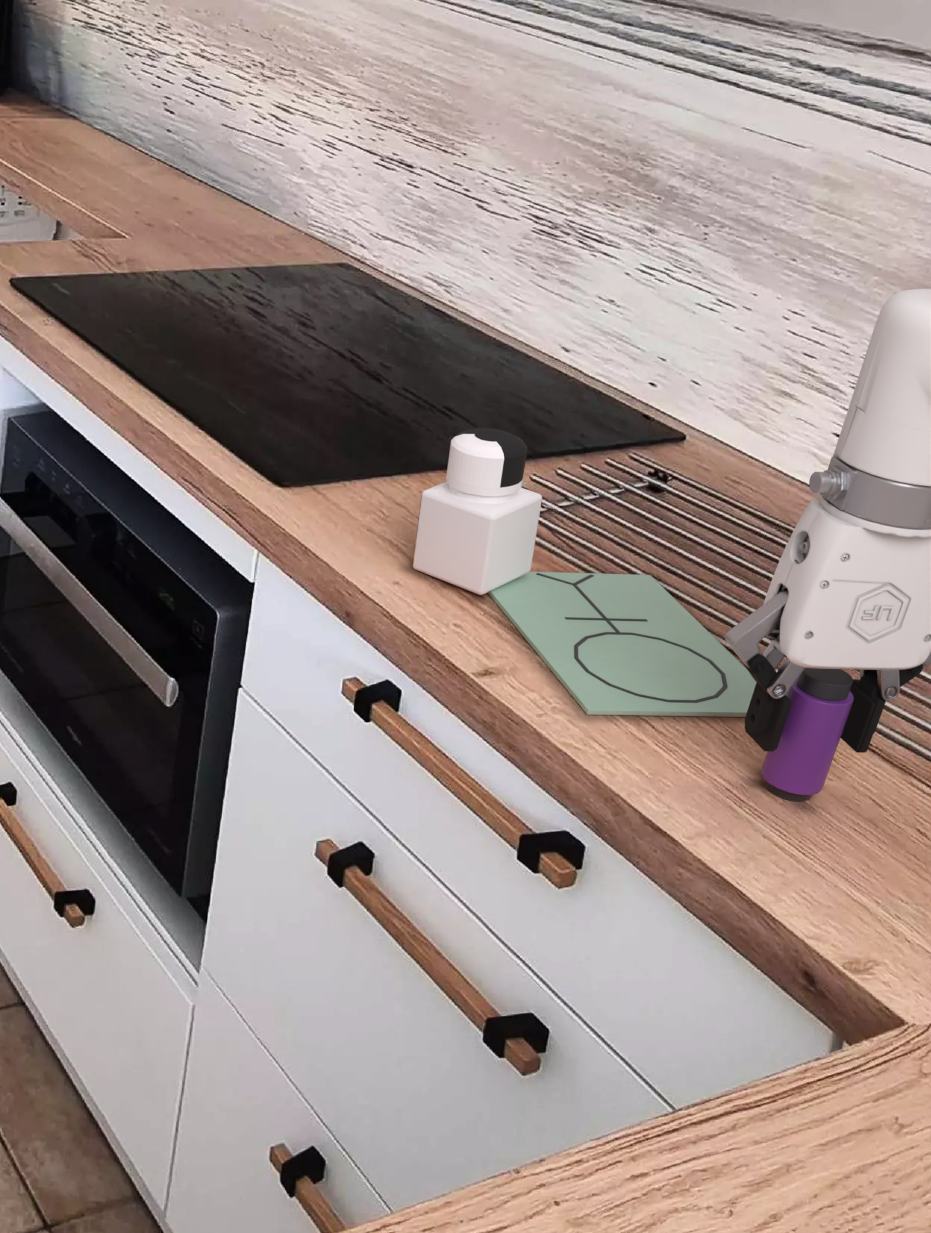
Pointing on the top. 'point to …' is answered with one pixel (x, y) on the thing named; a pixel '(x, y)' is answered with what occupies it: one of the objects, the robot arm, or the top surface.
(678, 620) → the sketch card
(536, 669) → the top surface
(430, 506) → the medicine bottle
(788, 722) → the cylinder
